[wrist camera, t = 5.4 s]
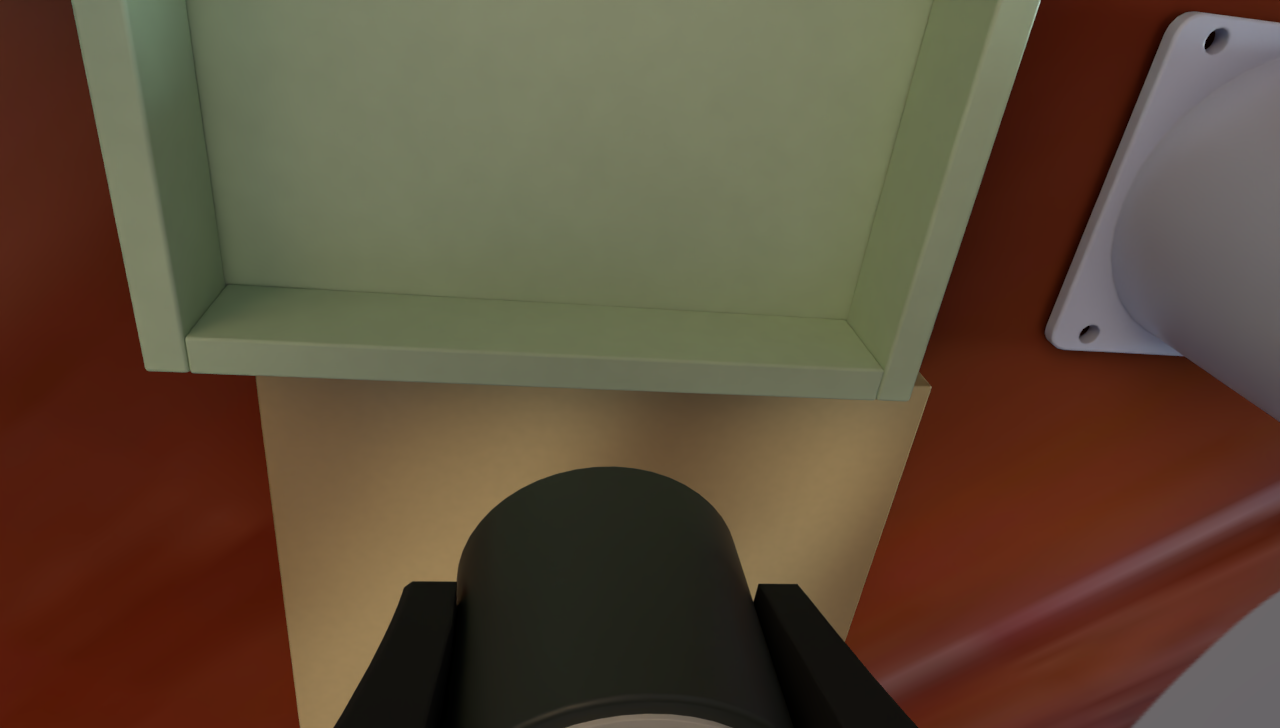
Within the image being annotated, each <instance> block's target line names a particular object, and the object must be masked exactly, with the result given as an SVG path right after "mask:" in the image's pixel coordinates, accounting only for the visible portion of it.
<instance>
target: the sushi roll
mask: <svg viewBox="0 0 1280 728" xmlns="http://www.w3.org/2000/svg"><path fill="white" fill-rule="evenodd" d="M456 582H457V604H456V615H455V625H454V635H453V645H452V655H451V665H450V671H449V677H448V683H447V690H446V696H445V702H444V708H443V715H442V723H441V728H794V727H793V724H792V720H791V717H790V714H789V711H788V708H787V705H786V702H785V699H784V696H783V693H782V689H781V686H780V683H779V680H778V677H777V674H776V671H775V668H774V665H773V662H772V658H771V655H770V652H769V649H768V646H767V643H766V640H765V637H764V634H763V631H762V627H761V624H760V621H759V618H758V615H757V612H756V609H755V606H754V603H753V600H752V596H751V593H750V590H749V587H748V584H747V581H746V578H745V575H744V572H743V569H742V565H741V562H740V559H739V556H738V553H737V550H736V547H735V544H734V541H733V538H732V536H731V533H730V530H729V528H728V526H727V525H726V523H725V521H724V520H723V518H722V516H721V515H720V514H719V513H718V512H717V510H716V509H715V508H714V507H713V506H712V505H711V504H710V503H709V502H708V501H707V500H706V499H704V498H703V497H702V496H701V495H700V494H699V493H697V492H695V491H694V490H692V489H691V488H689V487H688V486H686V485H685V484H682V483H680V482H678V481H676V480H674V479H672V478H670V477H667V476H664V475H661V474H658V473H654V472H651V471H646V470H641V469H636V468H627V467H616V466H611V467H590V468H582V469H575V470H571V471H566V472H562V473H558V474H555V475H552V476H549V477H546V478H543V479H540V480H538V481H536V482H533V483H531V484H529V485H527V486H525V487H523V488H521V489H519V490H518V491H516V492H515V493H513V494H511V495H510V496H508V497H507V498H505V499H504V500H503V501H502V502H500V503H499V504H498V505H497V506H495V507H494V508H493V509H492V510H491V511H490V512H489V513H488V514H487V515H486V516H485V517H484V518H483V519H482V520H481V522H480V523H479V524H478V525H477V527H476V528H475V530H474V531H473V532H472V534H471V535H470V537H469V539H468V541H467V543H466V545H465V547H464V549H463V551H462V554H461V558H460V561H459V564H458V572H457V581H456Z"/></svg>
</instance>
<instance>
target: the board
mask: <svg viewBox="0 0 1280 728" xmlns="http://www.w3.org/2000/svg"><path fill="white" fill-rule="evenodd" d="M255 377H256V385H257V393H258V401H259V409H260V416H261V424H262V432H263V440H264V448H265V456H266V464H267V472H268V480H269V487H270V495H271V503H272V511H273V519H274V527H275V535H276V543H277V551H278V558H279V566H280V574H281V582H282V590H283V598H284V606H285V614H286V622H287V629H288V637H289V645H290V653H291V661H292V669H293V677H294V685H295V693H296V700H297V708H298V716H299V724H300V728H333V727H334V726H335V724H336V723H337V721H338V719H339V718H340V716H341V714H342V713H343V711H344V709H345V707H346V706H347V704H348V702H349V700H350V699H351V697H352V695H353V693H354V691H355V690H356V688H357V686H358V684H359V683H360V681H361V679H362V677H363V675H364V674H365V672H366V670H367V668H368V667H369V665H370V663H371V661H372V659H373V657H374V655H375V653H376V651H377V649H378V647H379V645H380V643H381V641H382V639H383V637H384V635H385V633H386V631H387V629H388V627H389V624H390V622H391V620H392V618H393V615H394V613H395V610H396V608H397V606H398V603H399V600H400V598H401V595H402V592H403V589H404V587H405V586H407V585H408V584H409V583H411V582H412V581H453V582H456V581H457V572H458V564H459V561H460V558H461V554H462V551H463V549H464V547H465V545H466V543H467V541H468V539H469V537H470V535H471V534H472V532H473V531H474V530H475V528H476V527H477V525H478V524H479V523H480V522H481V520H482V519H483V518H484V517H485V516H486V515H487V514H488V513H489V512H490V511H491V510H492V509H493V508H494V507H495V506H497V505H498V504H499V503H500V502H502V501H503V500H504V499H505V498H507V497H508V496H510V495H511V494H513V493H515V492H516V491H518V490H519V489H521V488H523V487H525V486H527V485H529V484H531V483H533V482H536V481H538V480H540V479H543V478H546V477H549V476H552V475H555V474H558V473H562V472H566V471H571V470H575V469H582V468H590V467H611V466H616V467H627V468H636V469H641V470H646V471H651V472H654V473H658V474H661V475H664V476H667V477H670V478H672V479H674V480H676V481H678V482H680V483H682V484H685V485H686V486H688V487H689V488H691V489H692V490H694V491H695V492H697V493H699V494H700V495H701V496H702V497H703V498H704V499H706V500H707V501H708V502H709V503H710V504H711V505H712V506H713V507H714V508H715V509H716V510H717V512H718V513H719V514H720V515H721V516H722V518H723V520H724V521H725V523H726V525H727V526H728V528H729V530H730V533H731V536H732V538H733V541H734V544H735V547H736V550H737V553H738V556H739V559H740V562H741V565H742V569H743V572H744V575H745V578H746V581H747V584H748V587H749V590H750V593H751V596H752V600H753V602H754V598H755V595H756V591H757V587H758V584H798V585H799V586H800V588H801V589H802V590H803V591H804V592H805V594H806V595H807V596H808V597H809V598H810V600H811V601H812V602H813V603H814V605H815V606H816V607H817V608H818V610H819V611H820V612H821V613H822V615H823V616H824V617H825V618H826V620H827V621H828V622H829V623H830V625H831V626H832V627H833V628H834V630H835V631H836V632H837V633H838V634H839V636H840V637H841V638H842V639H843V641H844V642H845V639H846V636H847V633H848V630H849V628H850V625H851V622H852V619H853V616H854V613H855V610H856V607H857V604H858V601H859V598H860V595H861V592H862V589H863V587H864V584H865V581H866V578H867V575H868V572H869V569H870V566H871V563H872V560H873V557H874V554H875V551H876V549H877V546H878V543H879V540H880V537H881V534H882V531H883V528H884V525H885V522H886V519H887V516H888V513H889V510H890V508H891V505H892V502H893V499H894V496H895V493H896V490H897V487H898V484H899V481H900V478H901V475H902V472H903V470H904V467H905V464H906V461H907V458H908V455H909V452H910V449H911V446H912V443H913V440H914V437H915V434H916V431H917V429H918V426H919V423H920V420H921V417H922V414H923V411H924V408H925V405H926V402H927V399H928V396H929V393H930V390H931V386H930V384H929V383H928V382H927V381H926V380H925V378H924V377H923V376H922V375H921V374H920V372H918V375H917V378H916V381H915V384H914V387H913V390H912V393H911V396H910V399H909V401H906V402H905V401H881V400H877V399H875V400H849V399H824V398H800V397H775V396H750V395H725V394H700V393H675V392H650V391H625V390H600V389H576V388H551V387H526V386H501V385H476V384H451V383H426V382H401V381H376V380H352V379H327V378H302V377H277V376H255Z"/></svg>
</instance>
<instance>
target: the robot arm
mask: <svg viewBox="0 0 1280 728" xmlns="http://www.w3.org/2000/svg"><path fill="white" fill-rule="evenodd" d="M1213 31H1215V38H1214V41H1213V42H1212V44H1211V45H1210V47H1208V48H1207V49H1206V50H1205V48H1204V46H1205V41H1206V39H1207V37H1208V36H1209V34H1210V33H1211V32H1213ZM1087 326H1090V327H1089V329H1088V330H1087V332H1086V333H1084V334H1083V335H1081V336H1080V333H1081V331H1082V330H1083V329H1084V328H1086V327H1087ZM1045 336H1046V339H1047V340H1048V341H1049V342H1050V343H1051V344H1053V345H1054V346H1055V347H1056V348H1058V349H1062V350H1076V351H1095V352H1114V353H1132V354H1151V355H1170V356H1185V357H1186V358H1188V359H1189V360H1190V361H1192V362H1193V363H1195V364H1196V365H1198V366H1199V367H1201V368H1202V369H1204V370H1205V371H1206V372H1208V373H1209V374H1211V375H1212V376H1214V377H1215V378H1217V379H1218V380H1220V381H1221V382H1222V383H1224V384H1225V385H1227V386H1228V387H1230V388H1231V389H1233V390H1234V391H1235V392H1237V393H1238V394H1240V395H1241V396H1243V397H1244V398H1246V399H1247V400H1249V401H1250V402H1251V403H1253V404H1254V405H1256V406H1257V407H1259V408H1260V409H1262V410H1263V411H1265V412H1266V413H1267V414H1269V415H1270V416H1272V417H1273V418H1275V419H1276V420H1278V421H1279V422H1280V23H1278V22H1271V21H1263V20H1256V19H1248V18H1241V17H1233V16H1226V15H1218V14H1211V13H1203V12H1196V11H1194V12H1186V13H1184V14H1182V15H1180V16H1178V17H1177V18H1176V19H1175V20H1174V21H1173V22H1172V23H1171V24H1170V25H1169V26H1168V28H1167V30H1166V31H1165V33H1164V35H1163V38H1162V40H1161V43H1160V45H1159V48H1158V50H1157V53H1156V55H1155V58H1154V60H1153V63H1152V65H1151V68H1150V70H1149V72H1148V75H1147V77H1146V80H1145V82H1144V85H1143V87H1142V90H1141V92H1140V95H1139V97H1138V100H1137V102H1136V105H1135V107H1134V110H1133V112H1132V115H1131V117H1130V120H1129V122H1128V124H1127V127H1126V129H1125V132H1124V134H1123V137H1122V139H1121V142H1120V144H1119V147H1118V149H1117V152H1116V154H1115V157H1114V159H1113V162H1112V164H1111V167H1110V169H1109V171H1108V174H1107V176H1106V179H1105V181H1104V184H1103V186H1102V189H1101V191H1100V194H1099V196H1098V199H1097V201H1096V204H1095V206H1094V209H1093V211H1092V214H1091V216H1090V219H1089V221H1088V223H1087V226H1086V228H1085V231H1084V233H1083V236H1082V238H1081V241H1080V243H1079V246H1078V248H1077V251H1076V253H1075V256H1074V258H1073V261H1072V263H1071V266H1070V268H1069V271H1068V273H1067V275H1066V278H1065V280H1064V283H1063V285H1062V288H1061V290H1060V293H1059V295H1058V298H1057V300H1056V303H1055V305H1054V308H1053V310H1052V313H1051V315H1050V318H1049V320H1048V322H1047V325H1046V329H1045ZM753 603H754V606H755V609H756V612H757V615H758V618H759V621H760V624H761V627H762V631H763V634H764V637H765V640H766V643H767V646H768V649H769V652H770V655H771V658H772V662H773V665H774V668H775V671H776V674H777V677H778V680H779V683H780V686H781V689H782V693H783V696H784V699H785V702H786V705H787V708H788V711H789V714H790V717H791V720H792V724H793V727H794V728H918V727H917V726H916V725H915V724H914V722H913V721H912V720H911V719H910V718H909V717H908V716H907V715H906V714H905V713H904V711H903V710H902V709H901V708H900V707H899V706H898V704H897V703H896V702H895V701H894V700H893V699H892V698H891V696H890V695H889V694H888V693H887V692H886V691H885V690H884V688H883V687H882V686H881V685H880V684H879V683H878V681H877V680H876V679H875V678H874V677H873V676H872V675H871V673H870V672H869V671H868V670H867V669H866V667H865V666H864V665H863V664H862V663H861V661H860V660H859V659H858V658H857V657H856V655H855V654H854V653H853V652H852V650H851V649H850V648H849V647H848V646H847V644H846V643H845V642H844V641H843V639H842V638H841V637H840V636H839V634H838V633H837V632H836V631H835V630H834V628H833V627H832V626H831V625H830V623H829V622H828V621H827V620H826V618H825V617H824V616H823V615H822V613H821V612H820V611H819V610H818V608H817V607H816V606H815V605H814V603H813V602H812V601H811V600H810V598H809V597H808V596H807V595H806V594H805V592H804V591H803V590H802V589H801V588H800V586H799V585H798V584H758V587H757V591H756V595H755V598H754V602H753ZM456 604H457V582H453V581H412V582H411V583H409V584H408V585H407V586H405V587H404V589H403V592H402V595H401V598H400V600H399V603H398V606H397V608H396V610H395V613H394V615H393V618H392V620H391V622H390V624H389V627H388V629H387V631H386V633H385V635H384V637H383V639H382V641H381V643H380V645H379V647H378V649H377V651H376V653H375V655H374V657H373V659H372V661H371V663H370V665H369V667H368V668H367V670H366V672H365V674H364V675H363V677H362V679H361V681H360V683H359V684H358V686H357V688H356V690H355V691H354V693H353V695H352V697H351V699H350V700H349V702H348V704H347V706H346V707H345V709H344V711H343V713H342V714H341V716H340V718H339V719H338V721H337V723H336V724H335V726H334V727H333V728H441V723H442V715H443V708H444V702H445V696H446V690H447V683H448V677H449V671H450V665H451V655H452V645H453V635H454V625H455V615H456Z"/></svg>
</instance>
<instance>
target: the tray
mask: <svg viewBox="0 0 1280 728" xmlns="http://www.w3.org/2000/svg"><path fill="white" fill-rule="evenodd" d="M1040 1H1041V0H71V2H72V7H73V12H74V17H75V22H76V27H77V32H78V37H79V42H80V47H81V52H82V57H83V62H84V67H85V72H86V77H87V82H88V87H89V92H90V97H91V101H92V106H93V111H94V116H95V121H96V126H97V131H98V136H99V141H100V146H101V151H102V156H103V161H104V166H105V171H106V176H107V181H108V186H109V191H110V196H111V201H112V206H113V211H114V216H115V221H116V226H117V230H118V235H119V240H120V245H121V250H122V255H123V260H124V265H125V270H126V275H127V280H128V285H129V290H130V295H131V300H132V305H133V310H134V315H135V320H136V325H137V330H138V335H139V340H140V345H141V350H142V355H143V359H144V364H145V368H146V370H148V371H161V372H188V371H191V372H192V373H202V374H227V375H252V376H277V377H302V378H327V379H352V380H376V381H401V382H426V383H451V384H476V385H501V386H526V387H551V388H576V389H600V390H625V391H650V392H675V393H700V394H725V395H750V396H775V397H800V398H824V399H849V400H875V399H877V400H881V401H905V402H906V401H909V399H910V396H911V393H912V390H913V387H914V384H915V381H916V378H917V375H918V372H919V369H920V366H921V363H922V360H923V357H924V354H925V351H926V348H927V345H928V342H929V339H930V336H931V333H932V330H933V326H934V323H935V320H936V317H937V314H938V311H939V308H940V305H941V302H942V299H943V296H944V293H945V290H946V287H947V284H948V281H949V278H950V275H951V272H952V269H953V266H954V263H955V260H956V257H957V254H958V251H959V247H960V244H961V241H962V238H963V235H964V232H965V229H966V226H967V223H968V220H969V217H970V214H971V211H972V208H973V205H974V202H975V199H976V196H977V193H978V190H979V187H980V184H981V181H982V178H983V175H984V172H985V168H986V165H987V162H988V159H989V156H990V153H991V150H992V147H993V144H994V141H995V138H996V135H997V132H998V129H999V126H1000V123H1001V120H1002V117H1003V114H1004V111H1005V108H1006V105H1007V102H1008V99H1009V96H1010V93H1011V90H1012V86H1013V83H1014V80H1015V77H1016V74H1017V71H1018V68H1019V65H1020V62H1021V59H1022V56H1023V53H1024V50H1025V47H1026V44H1027V41H1028V38H1029V35H1030V32H1031V29H1032V26H1033V23H1034V20H1035V17H1036V14H1037V11H1038V7H1039V4H1040Z"/></svg>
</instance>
